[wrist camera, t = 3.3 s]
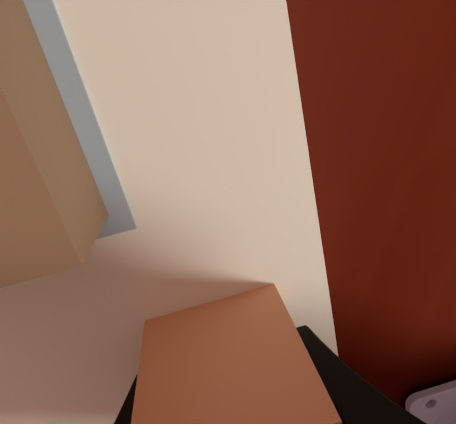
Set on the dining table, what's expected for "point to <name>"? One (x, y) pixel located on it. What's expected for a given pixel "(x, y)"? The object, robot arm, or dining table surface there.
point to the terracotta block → (229, 366)
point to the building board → (143, 187)
